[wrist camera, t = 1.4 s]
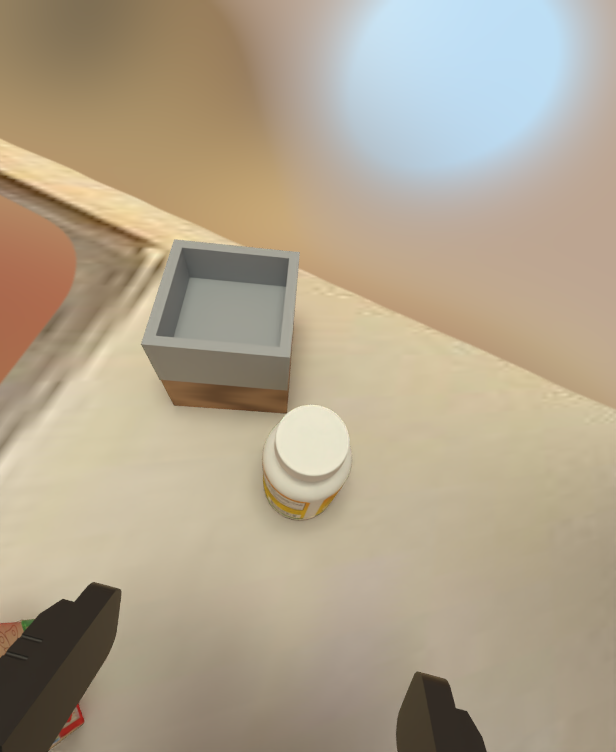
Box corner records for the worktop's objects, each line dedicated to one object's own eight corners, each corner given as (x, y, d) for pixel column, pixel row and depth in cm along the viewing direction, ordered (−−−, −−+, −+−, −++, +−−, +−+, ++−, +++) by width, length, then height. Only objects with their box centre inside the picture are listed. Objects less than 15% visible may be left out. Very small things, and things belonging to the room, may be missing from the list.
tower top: (296, 293, 32) (299, 252, 28) (287, 390, 28) (290, 357, 24) (186, 282, 32) (174, 239, 28) (159, 379, 27) (141, 344, 23)
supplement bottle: (270, 528, 27) (269, 499, 19) (258, 454, 30) (253, 401, 21) (343, 512, 28) (374, 478, 20) (326, 442, 31) (347, 386, 22)
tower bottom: (293, 325, 36) (295, 292, 32) (286, 414, 32) (288, 389, 28) (194, 317, 36) (185, 283, 32) (174, 406, 31) (160, 380, 27)
